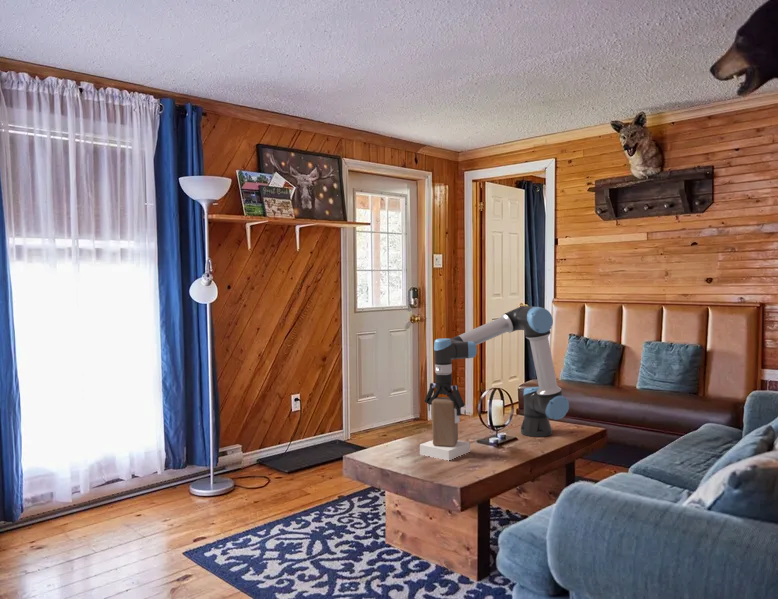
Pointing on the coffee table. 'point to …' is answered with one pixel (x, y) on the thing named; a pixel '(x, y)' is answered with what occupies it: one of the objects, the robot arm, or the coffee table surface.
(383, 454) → the coffee table surface
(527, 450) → the coffee table surface
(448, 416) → the block
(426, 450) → the base block
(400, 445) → the coffee table surface
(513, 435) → the coffee table surface
